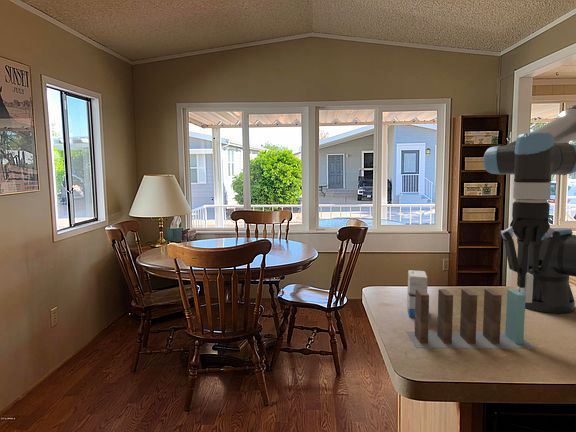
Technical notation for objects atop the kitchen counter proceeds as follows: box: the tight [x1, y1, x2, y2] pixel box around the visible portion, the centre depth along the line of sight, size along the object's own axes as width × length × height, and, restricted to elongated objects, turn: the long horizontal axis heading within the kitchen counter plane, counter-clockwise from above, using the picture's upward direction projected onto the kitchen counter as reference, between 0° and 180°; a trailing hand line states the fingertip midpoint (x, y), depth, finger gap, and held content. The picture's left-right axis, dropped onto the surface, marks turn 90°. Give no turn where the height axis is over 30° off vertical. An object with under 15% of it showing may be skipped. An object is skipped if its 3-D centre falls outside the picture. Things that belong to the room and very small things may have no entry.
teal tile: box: [504, 288, 526, 344], centre depth 105 cm, size 2×5×12 cm, turn 178°
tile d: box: [436, 288, 454, 344], centre depth 105 cm, size 2×5×12 cm, turn 178°
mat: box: [405, 331, 536, 349], centre depth 106 cm, size 27×10×1 cm, turn 88°
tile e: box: [414, 289, 430, 344], centre depth 106 cm, size 2×5×12 cm, turn 178°
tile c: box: [459, 288, 478, 344], centre depth 105 cm, size 2×5×12 cm, turn 178°
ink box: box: [406, 269, 428, 318], centre depth 125 cm, size 8×5×12 cm, turn 168°
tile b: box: [482, 288, 503, 344], centre depth 105 cm, size 2×5×12 cm, turn 178°
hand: (525, 300), depth 104 cm, fingers closed
